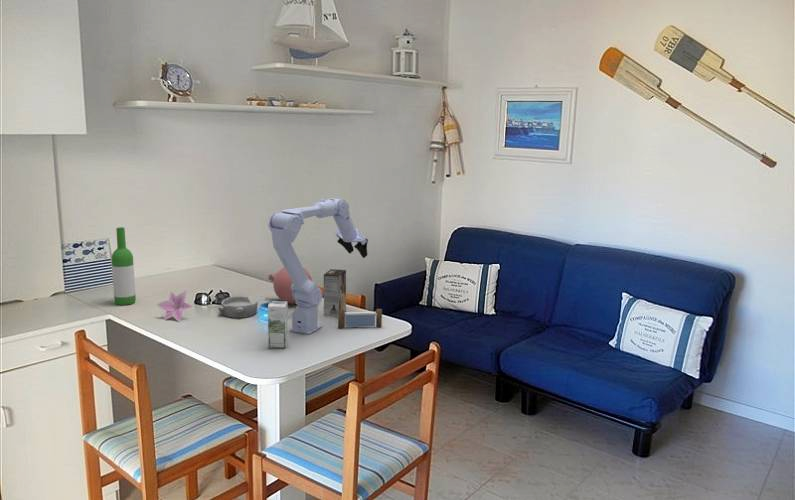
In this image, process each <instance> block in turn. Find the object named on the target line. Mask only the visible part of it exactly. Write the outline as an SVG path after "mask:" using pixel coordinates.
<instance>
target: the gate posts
mask: <svg viewBox="0 0 795 500" xmlns="http://www.w3.org/2000/svg"><path fill="white" fill-rule="evenodd" d="M345 312H346V310H344V309H339V310H338V316H337V329H339V330H340V329H341V330H344V329H345V327H346V315H345ZM375 312H376V315H375V327H376V329H377V328H378V329H379V328H382V327H383V326H382V325H383V324H382V319H383V316H382V315H383V309H382V308H376V309H375Z"/></svg>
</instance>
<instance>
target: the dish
mask: <svg viewBox="0 0 795 500" xmlns="http://www.w3.org/2000/svg"><path fill="white" fill-rule="evenodd" d="M217 309H218V311H219V313H221V314H222V315H223V316H225V317H228V318H247V317H248V318H249V317H252V316H254V315H255V314H256V313H257V312H258V311H257V310H258V301H257V300H256V301H255V302H253V303H252V301H251V300H250V298H249V296H246V295H236V296H228V297H227V298H224V299H223V300H222V301H221V303H220V306H219V307H218V308H217Z"/></svg>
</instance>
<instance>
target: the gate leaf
mask: <svg viewBox="0 0 795 500" xmlns="http://www.w3.org/2000/svg"><path fill="white" fill-rule="evenodd" d="M345 327H347V328H350V327H353V328H354V327H355V328H357V327H376V311H347V312H346V311H345Z"/></svg>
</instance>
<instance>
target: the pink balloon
mask: <svg viewBox="0 0 795 500" xmlns="http://www.w3.org/2000/svg"><path fill="white" fill-rule="evenodd" d="M303 269H304V271H305V273H306V275H307V277H308V278H309V279H310V280H311V281H312V282H313V278H312V276H311V274H310V272H308V270H306V269H305V268H304V267H303ZM268 280H269V281H270V282H273V290H274V293H275V295H276V297H277V298H278V299H279V300H281V301H284V302H287V304H291V305H297V304H296V300H294V299H293V296H292V290H291V288H290V287H291V285H292V284H293V282H292V280H291V279H290V277H289V275H288V273H287V271H286V269H285V267H284V266H283V268H281V269H280V270H278V272H276V273H274V274H273V273H269V275H268Z"/></svg>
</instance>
